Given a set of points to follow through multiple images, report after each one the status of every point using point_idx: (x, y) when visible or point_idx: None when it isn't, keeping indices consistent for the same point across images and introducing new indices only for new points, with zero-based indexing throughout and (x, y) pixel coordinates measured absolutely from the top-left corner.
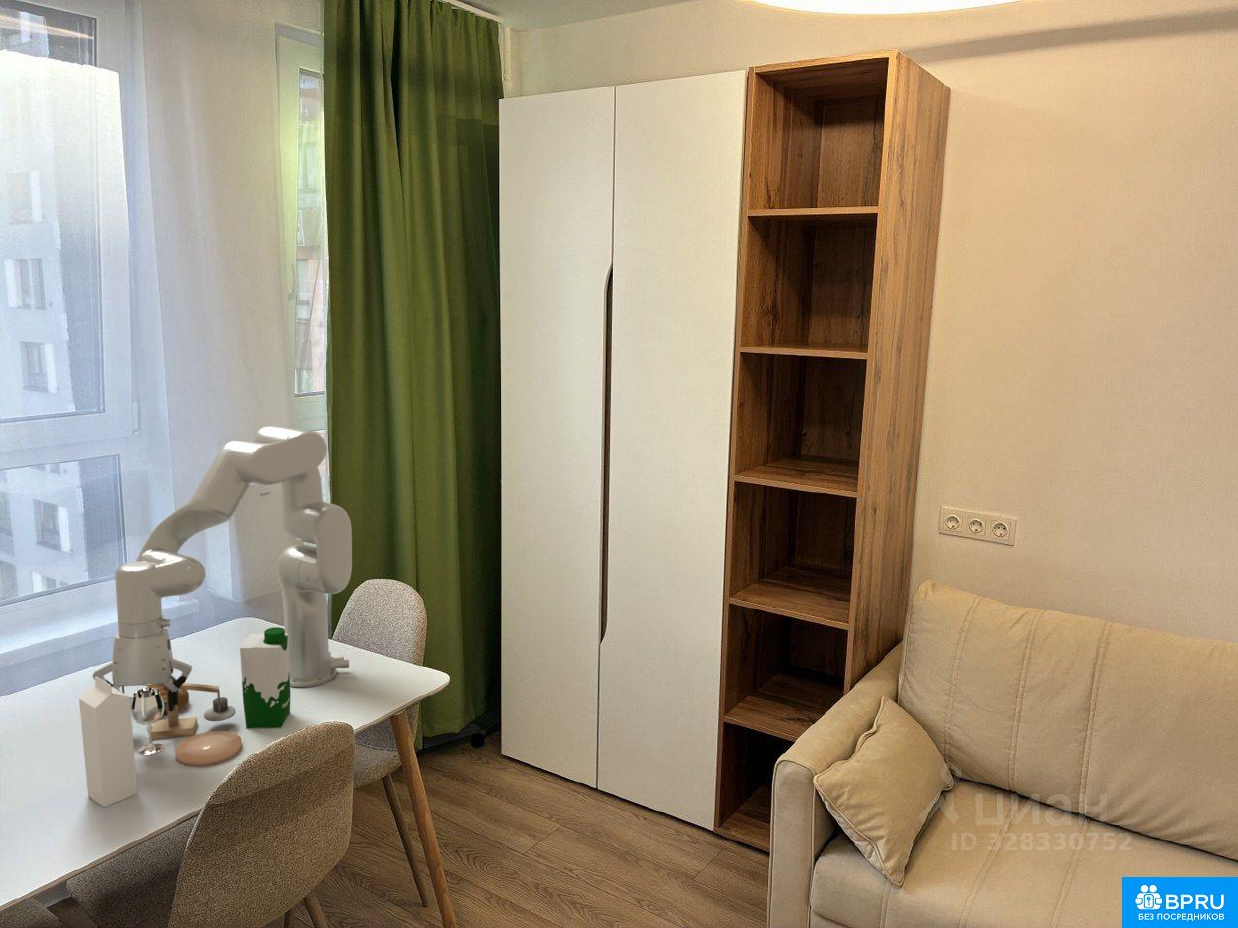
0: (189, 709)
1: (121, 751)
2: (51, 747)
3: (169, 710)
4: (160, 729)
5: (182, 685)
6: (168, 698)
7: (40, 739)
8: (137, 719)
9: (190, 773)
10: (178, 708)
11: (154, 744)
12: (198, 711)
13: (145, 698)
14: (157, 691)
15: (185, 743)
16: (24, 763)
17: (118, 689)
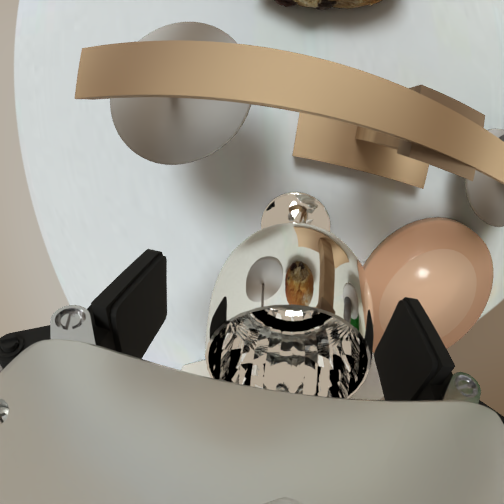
0: (399, 3)
1: None
2: (64, 130)
3: (377, 354)
4: (327, 147)
5: (495, 176)
6: (387, 399)
7: (45, 88)
8: (249, 328)
9: None
10: (374, 3)
11: (305, 211)
12: (426, 29)
13: None
14: (359, 315)
15: (387, 271)
16: (43, 193)
17: (103, 338)
